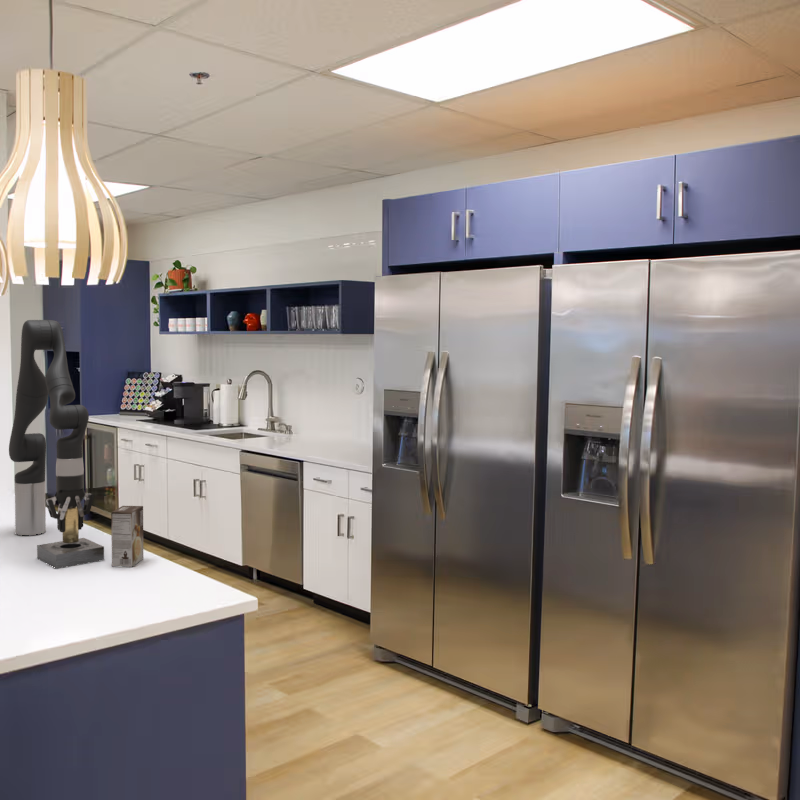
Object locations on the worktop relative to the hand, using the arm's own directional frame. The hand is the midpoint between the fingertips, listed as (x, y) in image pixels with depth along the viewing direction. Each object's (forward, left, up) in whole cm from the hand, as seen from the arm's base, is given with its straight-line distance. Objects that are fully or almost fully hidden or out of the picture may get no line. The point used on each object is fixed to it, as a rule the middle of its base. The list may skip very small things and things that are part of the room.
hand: (70, 530), depth 235 cm
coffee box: (+14, +11, -9) cm, 20 cm away
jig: (0, 0, -9) cm, 9 cm away
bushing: (0, 0, -3) cm, 3 cm away
